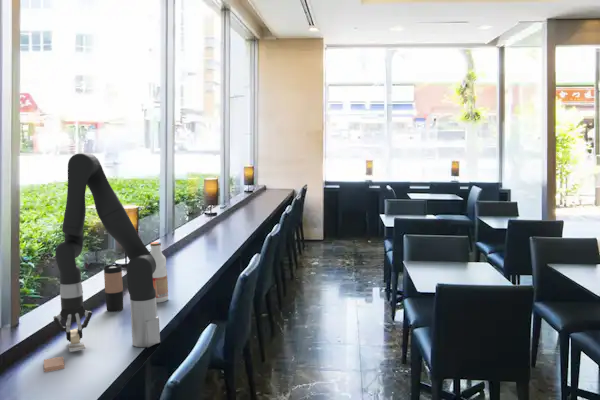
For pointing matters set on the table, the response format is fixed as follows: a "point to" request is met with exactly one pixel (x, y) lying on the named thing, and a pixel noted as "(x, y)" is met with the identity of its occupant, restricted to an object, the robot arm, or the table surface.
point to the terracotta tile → (53, 364)
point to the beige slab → (75, 341)
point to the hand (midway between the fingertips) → (74, 340)
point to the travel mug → (113, 288)
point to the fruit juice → (159, 273)
